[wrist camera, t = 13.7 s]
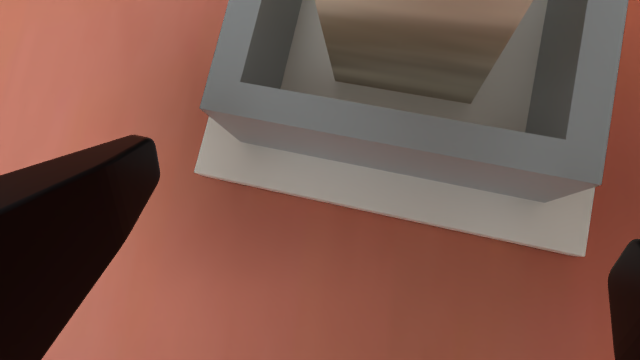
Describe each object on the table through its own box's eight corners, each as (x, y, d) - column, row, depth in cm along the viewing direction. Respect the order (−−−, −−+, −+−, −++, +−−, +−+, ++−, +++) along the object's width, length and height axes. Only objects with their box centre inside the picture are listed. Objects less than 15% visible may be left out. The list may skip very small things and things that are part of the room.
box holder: (574, 256, 16) (658, 257, 11) (202, 175, 18) (138, 147, 13) (628, -101, 17) (719, -231, 13) (284, -133, 20) (254, -254, 15)
